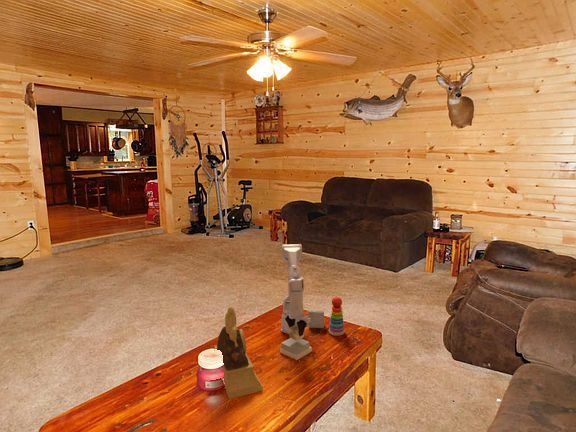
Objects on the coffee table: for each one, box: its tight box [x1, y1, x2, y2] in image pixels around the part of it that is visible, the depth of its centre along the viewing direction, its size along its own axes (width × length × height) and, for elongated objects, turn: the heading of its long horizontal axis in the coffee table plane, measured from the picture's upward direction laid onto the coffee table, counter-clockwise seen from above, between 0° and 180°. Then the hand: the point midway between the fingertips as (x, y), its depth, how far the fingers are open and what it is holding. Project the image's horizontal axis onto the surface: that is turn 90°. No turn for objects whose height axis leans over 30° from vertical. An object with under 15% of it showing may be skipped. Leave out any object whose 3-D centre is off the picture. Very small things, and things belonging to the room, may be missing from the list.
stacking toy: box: [328, 296, 346, 337], centre depth 192 cm, size 8×8×19 cm
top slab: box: [280, 337, 311, 355], centre depth 175 cm, size 9×9×2 cm
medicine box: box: [307, 308, 325, 329], centre depth 200 cm, size 8×4×9 cm, turn 84°
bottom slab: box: [279, 346, 313, 361], centre depth 176 cm, size 10×10×2 cm
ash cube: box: [288, 324, 305, 341], centre depth 174 cm, size 5×5×5 cm
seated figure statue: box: [214, 306, 264, 400], centre depth 156 cm, size 28×13×30 cm, turn 22°
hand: (296, 333), depth 174 cm, fingers closed on ash cube, 5 cm apart
